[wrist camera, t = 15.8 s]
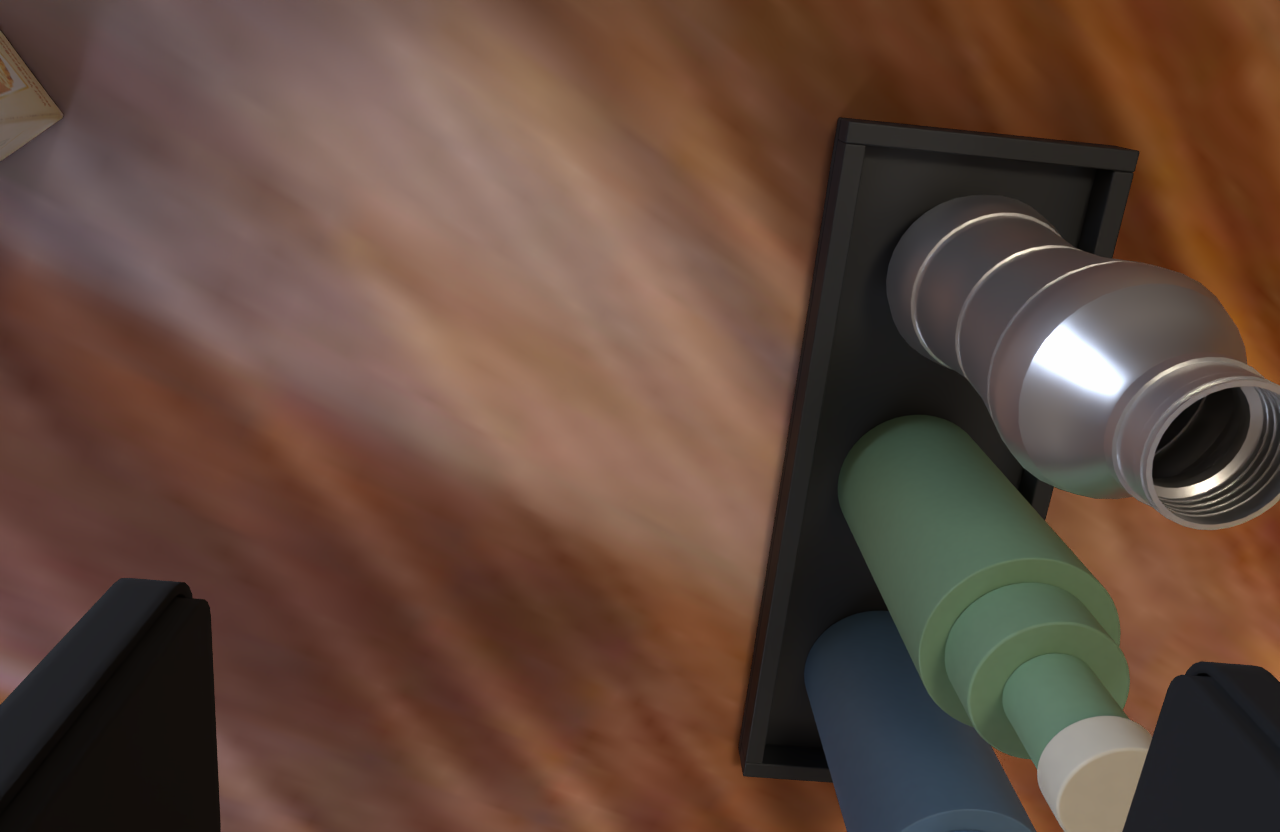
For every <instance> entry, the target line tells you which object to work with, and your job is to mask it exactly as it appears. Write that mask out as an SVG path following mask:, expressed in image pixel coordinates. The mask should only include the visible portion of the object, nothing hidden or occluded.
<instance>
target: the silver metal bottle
mask: <svg viewBox="0 0 1280 832" xmlns="http://www.w3.org/2000/svg"><path fill="white" fill-rule="evenodd" d="M886 291H887V298H888V302H889V306H890V310H891V314H892V318H893V321H894V323H895V325H896V327H897V329H898V331H899V333H900V335H901V336H902V337H903V338H904V339H905V341H906V342H907V343H908V344H909V346H911V347H912V348H913V349H915V350H916V351H917V352H918V353H920V354H921V355H923V356H924V357H926V358H928V359H930V360H932V361H933V362H936V363H938V364H940V365H942V366H944V367H946V368H949V369H952V370H955V371H956V372H958V373H959V374H960V375H962V376H963V377H965V378H966V379H968V381H969V382H970V383H971V385H972V386H973V387H974V389H975V390H976V391H977V392H978V394H979V395H980V396H981V397H982V399H983V401H984V403H985V405H986V407H987V409H988V411H989V413H990V415H991V417H992V419H993V422H994V424H995V426H996V428H997V430H998V432H999V434H1000V436H1001V439H1002V440H1003V442H1004V443H1005V444H1006V446H1007V447H1008V449H1009V450H1010V452H1011V453H1012V454H1013V456H1014V457H1015V458H1016V459H1017V461H1018V462H1019V463H1020V464H1021V465H1022V467H1023V468H1024V469H1026V470H1027V471H1028V472H1030V473H1031V474H1032V475H1034V476H1035V477H1036V478H1037V479H1039V480H1041V481H1043V482H1045V483H1047V484H1049V485H1051V486H1054V487H1056V488H1058V489H1061V490H1064V491H1067V492H1071V493H1074V494H1077V495H1082V496H1086V497H1091V498H1096V499H1120V498H1127V497H1135V498H1136V499H1137V500H1138V501H1140V502H1142V503H1144V504H1147V505H1149V506H1151V507H1153V508H1154V509H1155V510H1157V511H1158V512H1159V513H1160V514H1162V515H1163V516H1164V517H1166V518H1167V519H1169V520H1172V521H1174V522H1176V523H1178V524H1180V525H1183V526H1185V527H1190V528H1194V529H1200V530H1216V529H1223V528H1229V527H1233V526H1236V525H1239V524H1242V523H1245V522H1247V521H1249V520H1251V519H1253V518H1255V517H1257V516H1259V515H1261V514H1262V513H1264V512H1265V511H1266V510H1268V509H1269V508H1271V507H1272V506H1274V505H1275V504H1276V503H1277V502H1278V501H1279V500H1280V386H1279V385H1277V384H1275V383H1273V382H1271V381H1269V380H1267V379H1265V378H1264V377H1263V376H1262V375H1261V374H1260V373H1259V372H1257V371H1256V370H1255V369H1254V368H1252V367H1250V366H1248V365H1247V359H1246V351H1245V346H1244V343H1243V340H1242V338H1241V335H1240V333H1239V330H1238V328H1237V326H1236V325H1235V323H1234V322H1233V320H1232V319H1231V317H1230V316H1229V314H1228V313H1227V311H1226V310H1225V309H1224V307H1223V306H1222V304H1221V303H1220V301H1219V300H1218V299H1217V297H1216V296H1215V295H1214V294H1212V293H1211V292H1210V291H1209V290H1208V289H1207V288H1206V287H1204V286H1203V285H1202V284H1201V283H1199V282H1198V281H1196V280H1194V279H1192V278H1190V277H1188V276H1186V275H1184V274H1182V273H1179V272H1175V271H1172V270H1169V269H1166V268H1162V267H1158V266H1154V265H1150V264H1146V263H1142V262H1133V261H1126V260H1119V259H1112V258H1105V257H1100V256H1097V255H1094V254H1091V253H1088V252H1085V251H1082V250H1080V249H1077V248H1075V247H1073V246H1072V245H1071V244H1069V243H1068V242H1067V241H1065V240H1064V239H1063V238H1062V237H1061V236H1060V234H1059V233H1058V232H1057V230H1056V229H1055V228H1054V226H1053V225H1051V224H1050V223H1049V222H1048V221H1047V220H1046V219H1045V218H1044V217H1043V216H1042V215H1040V214H1039V213H1038V212H1037V211H1036V210H1035V209H1033V208H1032V207H1031V206H1029V205H1027V204H1025V203H1023V202H1021V201H1019V200H1016V199H1012V198H1008V197H1005V196H998V195H972V196H966V197H960V198H955V199H952V200H949V201H947V202H944V203H941V204H939V205H937V206H936V207H934V208H932V209H930V210H929V211H927V212H925V213H924V214H923V215H922V216H921V217H919V218H918V219H917V220H916V221H915V222H914V223H913V224H912V225H911V226H910V227H909V228H908V229H907V231H906V232H905V233H904V234H903V235H902V237H901V239H900V240H899V242H898V244H897V246H896V247H895V249H894V251H893V254H892V257H891V260H890V262H889V265H888V272H887V278H886Z"/></svg>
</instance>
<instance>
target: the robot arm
mask: <svg viewBox="0 0 1280 832" xmlns="http://www.w3.org/2000/svg"><path fill="white" fill-rule="evenodd" d="M0 832H220V804H219V782H218V761H217V739H216V717H215V696H214V674H213V652H212V631H211V614H210V607H209V605H208V602H207V601H206V600H205V599H193V598H192V593H191V590H190V588H189V586H188V585H187V584H186V583H185V582H173V581H160V580H147V579H134V578H121V579H119V580H118V581H117V582H115V583H114V584H113V585H112V586H111V587H110V588H109V589H108V590H107V591H106V593H105V594H104V595H103V596H102V597H101V598H100V599H99V600H98V601H97V602H96V603H95V604H94V605H93V606H92V608H91V609H90V610H89V611H88V612H87V613H86V614H85V615H84V616H83V617H82V618H81V619H80V620H79V621H78V622H77V624H76V625H75V626H74V627H73V628H72V629H71V630H70V631H69V632H68V633H67V634H66V635H65V636H64V637H63V639H62V640H61V641H60V642H59V643H58V644H57V645H56V646H55V647H54V648H53V649H52V650H51V651H50V652H49V653H48V655H47V656H46V657H45V658H44V659H43V660H42V661H41V662H40V663H39V664H38V665H37V666H36V667H35V668H34V670H33V671H32V672H31V673H30V674H29V675H28V676H27V677H26V678H25V679H24V680H23V681H22V682H21V683H20V685H19V686H18V687H17V688H16V689H15V690H14V691H13V692H12V693H11V694H10V695H9V696H8V697H7V698H6V699H5V701H4V702H3V703H2V704H1V705H0ZM1122 832H1280V682H1279V681H1278V680H1277V679H1276V678H1275V677H1274V676H1273V675H1272V674H1271V673H1269V672H1268V671H1267V670H1265V669H1264V668H1262V667H1258V666H1252V665H1240V664H1227V663H1214V662H1198V663H1195V664H1193V665H1192V666H1191V667H1190V668H1189V669H1188V670H1187V672H1186V674H1185V675H1180V676H1177V677H1175V678H1174V679H1173V680H1172V681H1171V683H1170V685H1169V688H1168V690H1167V693H1166V696H1165V699H1164V703H1163V706H1162V709H1161V712H1160V715H1159V718H1158V721H1157V725H1156V728H1155V731H1154V734H1153V737H1152V740H1151V743H1150V746H1149V750H1148V753H1147V756H1146V759H1145V762H1144V765H1143V768H1142V771H1141V775H1140V778H1139V781H1138V784H1137V787H1136V790H1135V793H1134V797H1133V800H1132V803H1131V806H1130V809H1129V812H1128V815H1127V818H1126V822H1125V825H1124V828H1123V831H1122Z"/></svg>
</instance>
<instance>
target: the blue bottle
mask: <svg viewBox="0 0 1280 832" xmlns="http://www.w3.org/2000/svg"><path fill="white" fill-rule="evenodd" d="M804 681H805V686H806V690H807V694H808V697H809V701H810V704H811V708H812V711H813V715H814V718H815V722H816V725H817V729H818V732H819V736H820V739H821V743H822V746H823V750H824V753H825V756H826V760H827V763H828V767H829V770H830V774H831V777H832V781H833V784H834V788H835V791H836V795H837V798H838V802H839V805H840V809H841V812H842V816H843V819H844V823H845V826H846V829H847V832H1036V830H1035V828H1034V827H1033V825H1032V823H1031V821H1030V819H1029V817H1028V815H1027V813H1026V811H1025V809H1024V808H1023V806H1022V804H1021V802H1020V800H1019V798H1018V796H1017V794H1016V792H1015V791H1014V789H1013V787H1012V785H1011V783H1010V781H1009V779H1008V777H1007V775H1006V773H1005V772H1004V770H1003V768H1002V766H1001V764H1000V762H999V760H998V758H997V756H996V754H995V753H994V751H993V749H992V747H991V745H990V744H988V743H987V742H986V741H985V740H984V739H983V738H982V737H981V736H980V735H979V734H978V732H977V731H976V730H975V728H974V727H971V726H969V725H966V724H964V723H962V722H960V721H958V720H956V719H954V718H952V717H951V716H950V715H948V714H947V713H946V712H944V711H943V710H942V709H941V708H940V707H939V706H938V705H937V704H936V703H935V702H934V701H933V699H932V698H931V697H930V695H929V694H928V692H927V690H926V688H925V686H924V684H923V682H922V680H921V678H920V676H919V674H918V672H917V669H916V667H915V665H914V663H913V661H912V659H911V657H910V655H909V653H908V650H907V648H906V646H905V644H904V642H903V640H902V638H901V636H900V633H899V631H898V629H897V627H896V625H895V623H894V621H893V619H892V617H891V614H890V612H889V611H866V612H862V613H857V614H854V615H851V616H848V617H846V618H844V619H842V620H840V621H838V622H837V623H835V624H833V625H832V626H831V627H829V628H828V629H827V630H826V631H825V632H824V633H823V634H822V635H821V636H820V637H819V638H818V639H817V640H816V642H815V643H814V645H813V646H812V648H811V650H810V652H809V654H808V657H807V660H806V663H805V670H804Z"/></svg>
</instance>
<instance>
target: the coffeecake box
mask: <svg viewBox="0 0 1280 832" xmlns="http://www.w3.org/2000/svg"><path fill="white" fill-rule="evenodd" d="M62 118H63V114H62V112H61V111H60V110H59V108H58V107H57V106H56V104H55V103H54V102H53V100H52V99H51V98H50V96H49V95H48V94H47V92H46V91H45V90H44V88H43V87H42V86H41V84H40V83H39V82H38V80H37V79H36V78H35V77H34V75H33V74H32V73H31V71H30V70H29V68H28V67H27V66H26V64H25V63H24V62H23V60H22V59H21V58H20V56H19V55H18V54H17V52H16V51H15V50H14V48H13V47H12V45H11V44H10V43H9V41H8V40H7V39H6V37H5V36H4V35H3V33H2V32H1V31H0V161H2V160H3V159H5V158H6V157H8V156H9V155H10V154H12V153H13V152H15V151H16V150H18V149H19V148H21V147H22V146H23V145H25V144H26V143H28V142H29V141H31V140H32V139H34V138H35V137H36V136H38V135H39V134H41V133H42V132H43V131H45V130H46V129H48V128H49V127H50V126H52V125H53V124H55V123H56V122H58V121H59V120H60V119H62Z"/></svg>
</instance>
